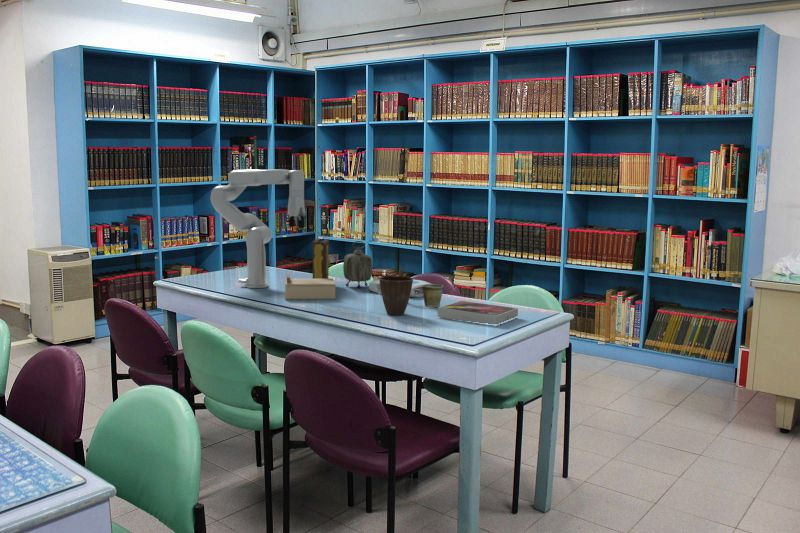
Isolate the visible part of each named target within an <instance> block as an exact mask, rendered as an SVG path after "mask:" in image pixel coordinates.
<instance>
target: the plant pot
mask: <svg viewBox="0 0 800 533" xmlns="http://www.w3.org/2000/svg"><path fill="white" fill-rule="evenodd" d="M378 279H379V281H380V289H381V294H380V295H381V298H382V302H383V306H384V308H385V312H386V314H387V315H388V316H394V315H398V316H403V315H405V313H406V309H407V307H408V304H409V300H410V298H411V297H410V293H411V289H412V283H413V279H414V278H413V277H411V276H410V277H409V276H404V277H401V276H398V275H395V276H392V275H390V276H382V277H378Z"/></svg>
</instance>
